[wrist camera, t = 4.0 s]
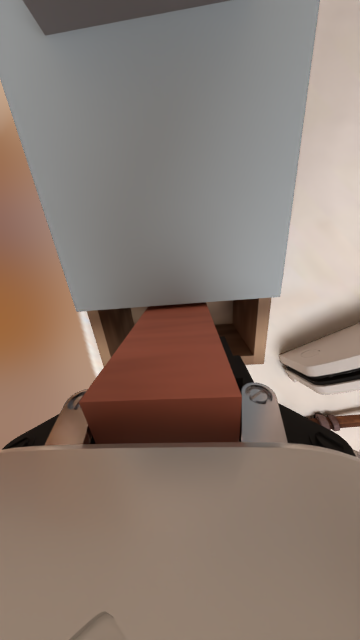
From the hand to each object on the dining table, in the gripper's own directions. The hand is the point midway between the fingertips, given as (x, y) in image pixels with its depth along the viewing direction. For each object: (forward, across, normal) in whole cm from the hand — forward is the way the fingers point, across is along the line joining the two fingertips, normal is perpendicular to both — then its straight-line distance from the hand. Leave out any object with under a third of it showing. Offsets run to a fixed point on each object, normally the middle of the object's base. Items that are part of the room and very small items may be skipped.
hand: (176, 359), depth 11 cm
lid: (+4, 0, -11) cm, 12 cm away
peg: (+12, 0, 0) cm, 12 cm away
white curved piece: (+14, -22, +7) cm, 27 cm away
